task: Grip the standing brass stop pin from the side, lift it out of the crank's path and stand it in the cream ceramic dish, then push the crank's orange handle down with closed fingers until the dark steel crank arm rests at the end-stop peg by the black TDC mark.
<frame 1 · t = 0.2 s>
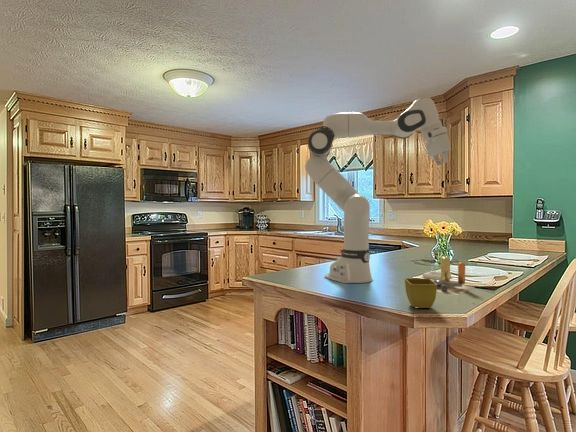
hand: (442, 164, 156), 52 cm above the counter, tool tilted 15°, fingers open, 8 cm apart
stop pin: (445, 283, 151), point 1 cm above the counter, touching crank base
crank base: (439, 288, 145), on the counter
dish: (436, 278, 163), on the counter
crank: (449, 273, 144), point 6 cm above the counter, hinge at 25.0°
flower pot: (420, 307, 122), on the counter
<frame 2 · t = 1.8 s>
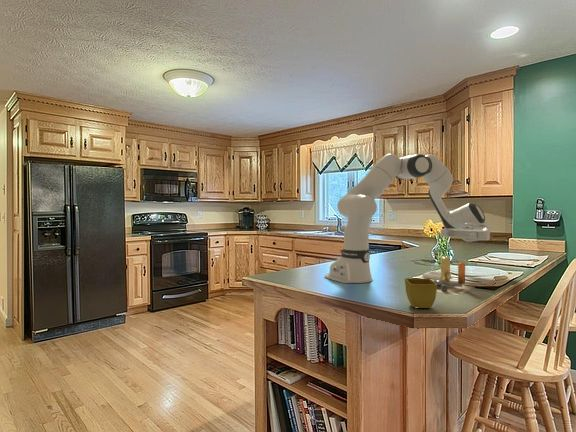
hand: (457, 235, 158), 20 cm above the counter, tool horizontal, fingers open, 8 cm apart
nothing on the counter moved.
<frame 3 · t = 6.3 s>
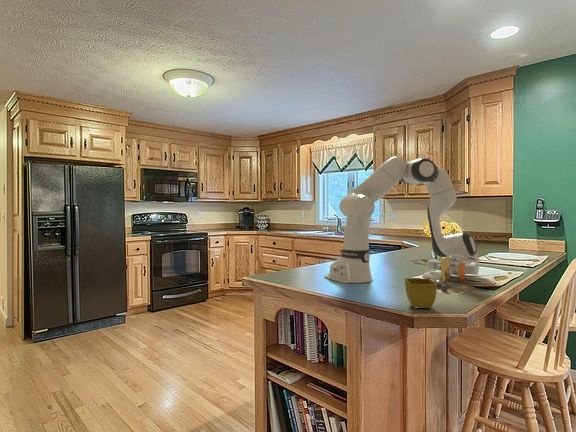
hand: (444, 268, 150), 7 cm above the counter, tool horizontal, fingers closed on stop pin, 4 cm apart
stop pin: (445, 283, 151), point 1 cm above the counter, touching crank base, gripper
everything else where it was.
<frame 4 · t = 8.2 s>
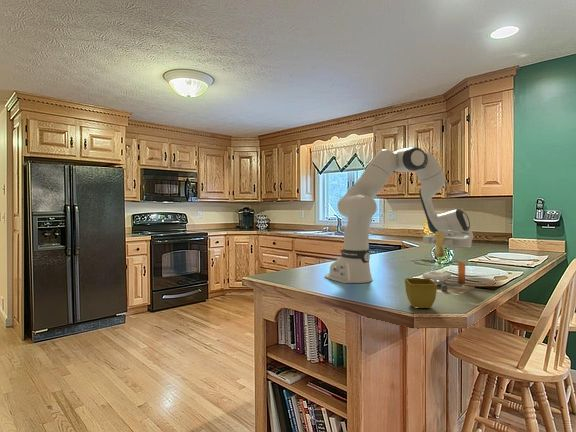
hand: (438, 242, 158), 17 cm above the counter, tool horizontal, fingers closed on stop pin, 4 cm apart
stop pin: (439, 256, 159), point 11 cm above the counter, touching gripper
everything else where it was.
when the fingers open (8 cm above the counter, at t = 10.5 s): stop pin stays where it is, resting on dish.
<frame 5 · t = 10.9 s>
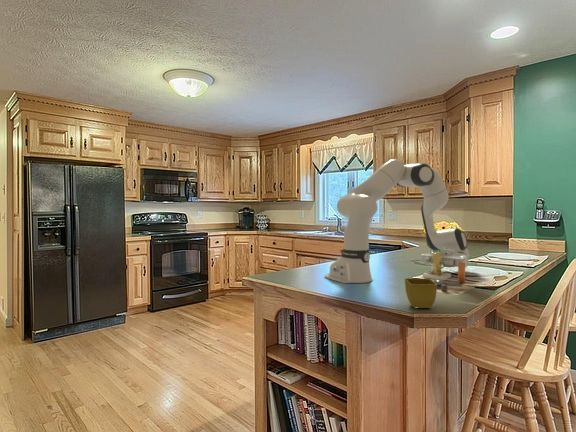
hand: (436, 261, 162), 8 cm above the counter, tool horizontal, fingers open, 7 cm apart
stop pin: (436, 277, 163), point 1 cm above the counter, touching dish
everything else where it was.
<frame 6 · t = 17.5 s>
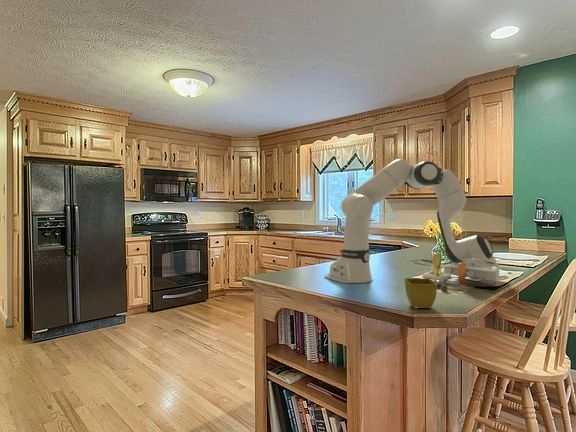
hand: (463, 274, 142), 6 cm above the counter, tool horizontal, fingers closed, pressing on crank
crank: (449, 274, 143), point 6 cm above the counter, hinge at 19.6°, touching gripper
everything else where it was.
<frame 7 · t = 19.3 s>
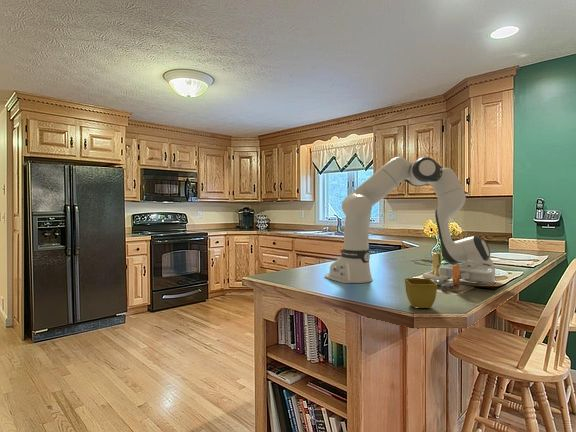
hand: (458, 276, 138), 6 cm above the counter, tool horizontal, fingers closed, pressing on crank
crank: (446, 274, 142), point 6 cm above the counter, hinge at -19.1°, touching gripper
everything else where it was.
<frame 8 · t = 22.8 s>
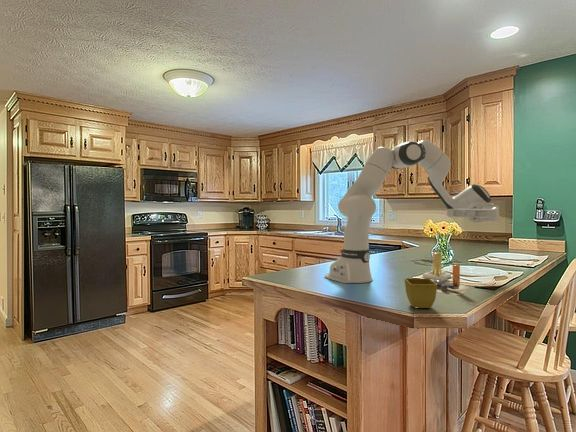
hand: (465, 213, 151), 30 cm above the counter, tool horizontal, fingers closed
crank: (446, 274, 142), point 6 cm above the counter, hinge at -19.1°
everything else where it was.
at the end: stop pin inside the target area on the dish (0.1 cm from its centre), point 0.6 cm above the dish's base; stop pin tilted 1°; crank at -19° (first picture: +25°) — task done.
